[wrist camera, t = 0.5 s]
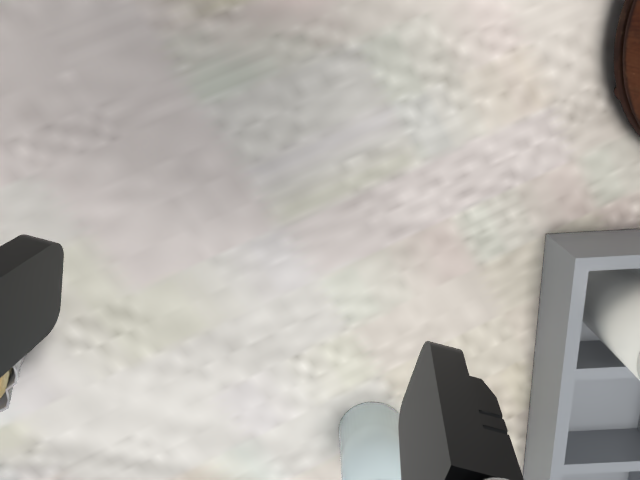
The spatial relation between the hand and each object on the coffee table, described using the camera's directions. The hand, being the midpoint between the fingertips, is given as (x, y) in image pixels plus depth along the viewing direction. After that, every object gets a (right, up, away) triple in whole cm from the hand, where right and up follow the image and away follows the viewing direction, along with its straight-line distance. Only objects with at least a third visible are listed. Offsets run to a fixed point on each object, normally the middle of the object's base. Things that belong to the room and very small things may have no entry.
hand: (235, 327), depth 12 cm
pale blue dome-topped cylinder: (+6, -11, +26) cm, 29 cm away
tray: (+20, -8, +25) cm, 33 cm away
